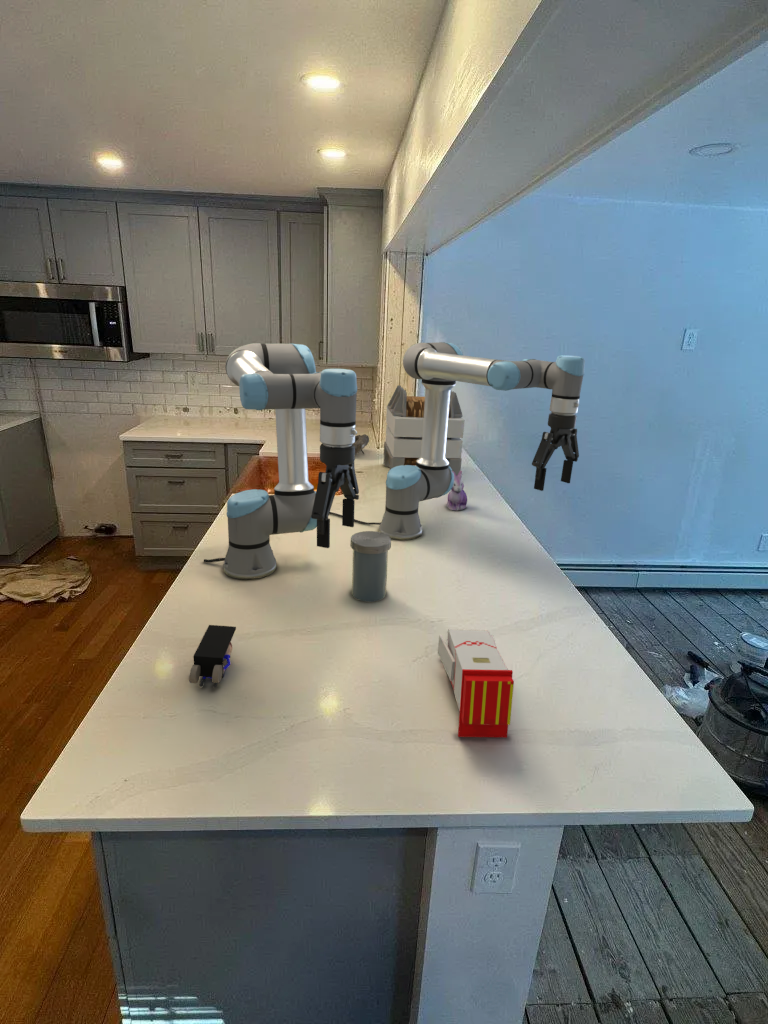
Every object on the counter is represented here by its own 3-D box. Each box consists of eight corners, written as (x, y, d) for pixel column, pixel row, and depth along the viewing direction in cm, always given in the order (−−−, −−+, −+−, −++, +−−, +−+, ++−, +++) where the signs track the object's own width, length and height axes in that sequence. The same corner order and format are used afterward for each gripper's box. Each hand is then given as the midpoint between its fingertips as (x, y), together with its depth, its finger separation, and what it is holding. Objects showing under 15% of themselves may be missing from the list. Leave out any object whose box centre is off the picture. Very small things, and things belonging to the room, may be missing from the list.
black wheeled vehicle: (223, 699, 115) (239, 649, 128) (220, 670, 112) (236, 622, 125) (189, 698, 115) (209, 649, 128) (185, 669, 111) (206, 622, 125)
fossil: (345, 440, 315) (366, 425, 310) (356, 453, 318) (377, 439, 313) (338, 454, 296) (361, 438, 291) (350, 468, 298) (372, 452, 293)
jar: (385, 586, 162) (388, 534, 157) (386, 602, 153) (388, 547, 148) (352, 585, 162) (353, 532, 156) (351, 601, 153) (352, 546, 147)
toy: (488, 613, 130) (523, 677, 101) (484, 667, 133) (517, 744, 104) (435, 612, 130) (455, 676, 101) (432, 666, 133) (451, 743, 103)
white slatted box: (382, 463, 289) (386, 382, 275) (445, 464, 293) (451, 384, 279) (390, 482, 257) (394, 392, 243) (460, 483, 261) (468, 394, 247)
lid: (390, 538, 158) (390, 531, 157) (391, 554, 148) (391, 547, 147) (351, 537, 157) (351, 530, 157) (349, 553, 147) (350, 546, 146)
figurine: (453, 512, 223) (457, 475, 218) (439, 504, 231) (442, 469, 226) (473, 509, 227) (477, 473, 222) (459, 501, 236) (462, 467, 231)
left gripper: (328, 459, 109) (327, 559, 116) (374, 434, 131) (371, 520, 138) (293, 454, 111) (295, 553, 118) (344, 431, 133) (343, 515, 140)
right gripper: (548, 419, 148) (537, 496, 155) (598, 411, 163) (586, 482, 171) (525, 414, 153) (515, 489, 160) (575, 407, 169) (564, 476, 176)
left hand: (336, 535), depth 128 cm, fingers open, 13 cm apart
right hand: (552, 485), depth 166 cm, fingers open, 13 cm apart
